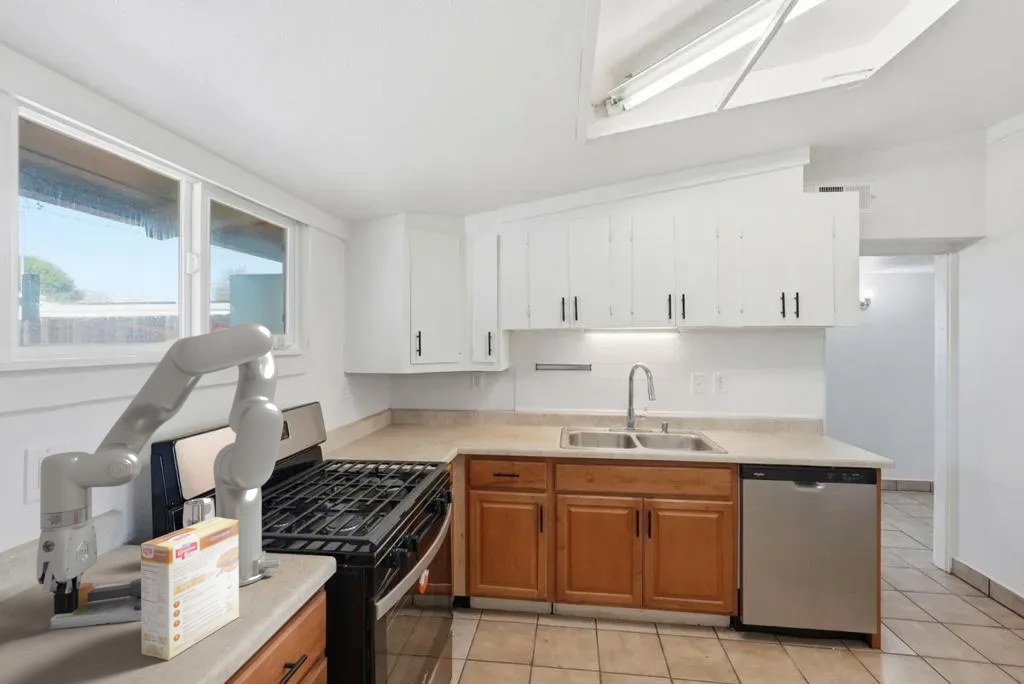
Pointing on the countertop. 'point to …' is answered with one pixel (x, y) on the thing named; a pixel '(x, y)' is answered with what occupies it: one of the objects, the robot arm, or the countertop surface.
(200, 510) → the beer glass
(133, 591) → the breaker lever
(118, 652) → the countertop surface
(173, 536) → the coffeecake box
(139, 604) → the cord bundle
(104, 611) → the panel
